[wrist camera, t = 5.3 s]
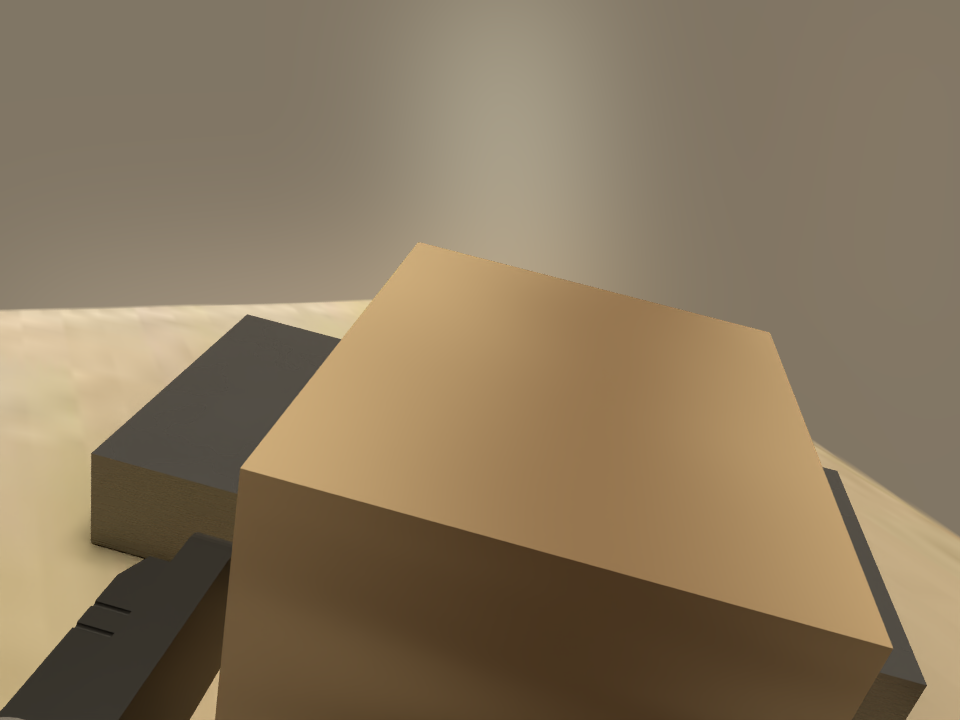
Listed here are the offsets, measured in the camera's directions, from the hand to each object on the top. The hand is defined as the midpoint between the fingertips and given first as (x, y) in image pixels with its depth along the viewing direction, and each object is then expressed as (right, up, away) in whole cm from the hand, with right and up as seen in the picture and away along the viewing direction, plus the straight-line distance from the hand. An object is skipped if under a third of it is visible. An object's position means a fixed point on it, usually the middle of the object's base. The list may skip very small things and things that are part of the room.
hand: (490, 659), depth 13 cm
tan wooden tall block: (-2, -7, +2) cm, 8 cm away
